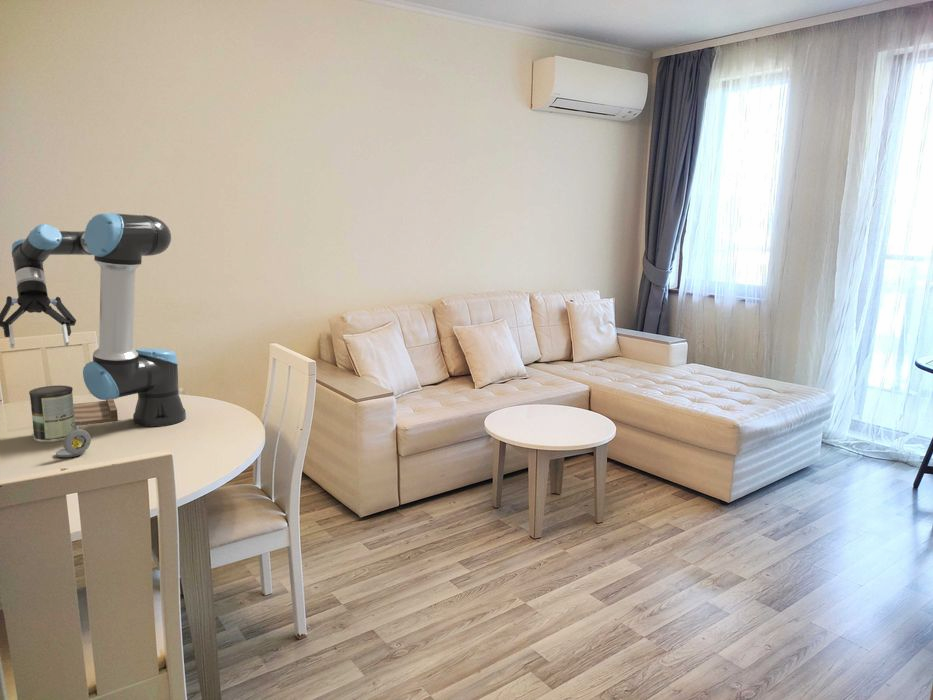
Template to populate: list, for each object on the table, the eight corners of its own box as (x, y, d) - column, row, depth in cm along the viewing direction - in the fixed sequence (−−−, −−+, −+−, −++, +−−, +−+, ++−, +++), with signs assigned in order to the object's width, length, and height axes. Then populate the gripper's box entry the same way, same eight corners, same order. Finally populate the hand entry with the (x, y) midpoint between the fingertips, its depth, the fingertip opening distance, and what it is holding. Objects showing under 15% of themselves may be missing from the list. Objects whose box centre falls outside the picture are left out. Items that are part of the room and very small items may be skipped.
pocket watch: (65, 450, 165) (62, 415, 163) (97, 450, 166) (94, 415, 164) (47, 460, 157) (43, 424, 155) (81, 461, 158) (78, 424, 156)
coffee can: (25, 442, 170) (20, 393, 168) (46, 431, 180) (42, 385, 178) (64, 442, 171) (60, 394, 169) (83, 431, 181) (79, 385, 179)
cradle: (55, 408, 203) (54, 398, 202) (112, 402, 212) (111, 393, 211) (55, 427, 183) (54, 416, 183) (117, 420, 192) (117, 409, 192)
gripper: (75, 292, 200) (85, 349, 194) (-21, 290, 183) (-13, 352, 177) (79, 280, 195) (90, 338, 189) (-19, 277, 178) (-11, 340, 172)
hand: (40, 345), depth 183 cm, fingers open, 13 cm apart
